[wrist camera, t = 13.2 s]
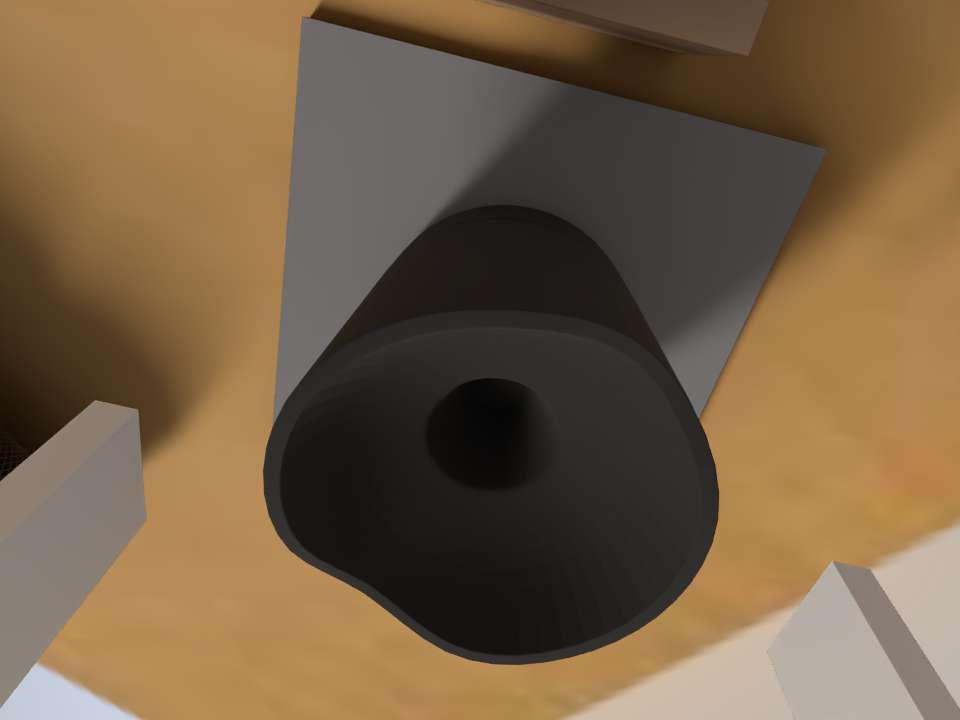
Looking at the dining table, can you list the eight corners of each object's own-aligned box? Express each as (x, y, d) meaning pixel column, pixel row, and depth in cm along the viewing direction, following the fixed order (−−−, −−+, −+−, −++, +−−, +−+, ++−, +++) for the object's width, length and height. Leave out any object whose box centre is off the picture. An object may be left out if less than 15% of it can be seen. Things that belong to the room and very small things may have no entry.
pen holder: (398, 439, 24) (323, 667, 15) (347, 204, 20) (200, 332, 11) (638, 425, 23) (707, 663, 14) (638, 173, 19) (737, 286, 10)
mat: (308, 17, 18) (302, 16, 17) (819, 146, 18) (827, 149, 18) (276, 442, 25) (270, 451, 25) (640, 524, 26) (642, 534, 25)
